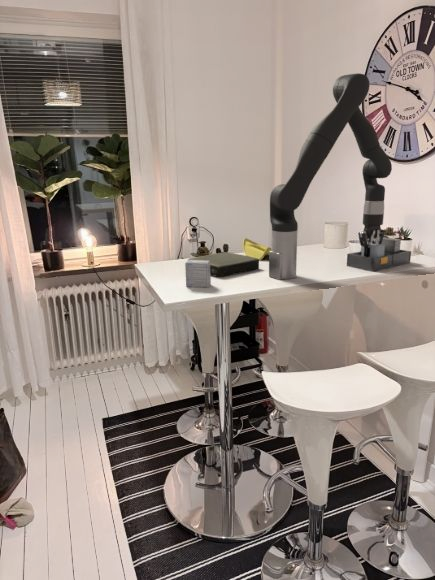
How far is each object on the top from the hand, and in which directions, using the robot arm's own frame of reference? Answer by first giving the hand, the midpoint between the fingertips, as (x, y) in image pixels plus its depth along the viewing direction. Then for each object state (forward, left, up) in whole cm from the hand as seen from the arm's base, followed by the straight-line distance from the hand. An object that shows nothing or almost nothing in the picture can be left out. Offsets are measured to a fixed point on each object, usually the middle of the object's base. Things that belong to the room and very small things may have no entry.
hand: (370, 255), depth 170 cm
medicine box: (-70, +16, -5) cm, 72 cm away
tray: (+6, 0, -4) cm, 7 cm away
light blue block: (0, -1, -3) cm, 4 cm away
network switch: (-49, +32, -5) cm, 59 cm away
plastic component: (-21, +44, -5) cm, 49 cm away
